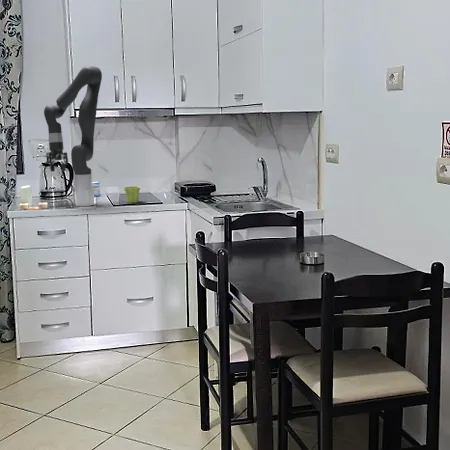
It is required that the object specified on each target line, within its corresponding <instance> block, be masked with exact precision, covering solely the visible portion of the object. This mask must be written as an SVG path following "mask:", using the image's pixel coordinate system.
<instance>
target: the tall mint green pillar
mask: <svg viewBox="0 0 450 450" xmlns="http://www.w3.org/2000/svg"><path fill="white" fill-rule="evenodd" d="M19 189H20V190H19V191H20V204H21V203H29V207H33V197H32V196H33V195H32V186H31V185H24V186H21V187H20V188H19Z"/></svg>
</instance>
